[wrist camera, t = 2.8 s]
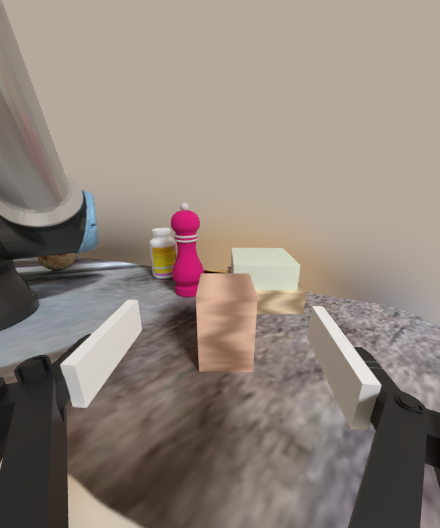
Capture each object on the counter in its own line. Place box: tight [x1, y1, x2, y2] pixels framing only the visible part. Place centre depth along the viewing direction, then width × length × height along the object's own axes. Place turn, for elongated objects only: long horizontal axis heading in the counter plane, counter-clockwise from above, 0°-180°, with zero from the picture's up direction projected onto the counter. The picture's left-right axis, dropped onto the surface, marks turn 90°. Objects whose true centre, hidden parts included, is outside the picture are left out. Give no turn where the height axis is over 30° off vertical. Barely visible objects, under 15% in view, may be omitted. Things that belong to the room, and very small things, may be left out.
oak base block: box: [228, 267, 306, 314], centre depth 46 cm, size 14×14×5 cm
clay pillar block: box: [196, 273, 258, 372], centre depth 29 cm, size 7×7×11 cm
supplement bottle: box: [149, 228, 176, 279], centre depth 57 cm, size 7×7×13 cm
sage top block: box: [231, 248, 300, 290], centre depth 45 cm, size 12×12×5 cm
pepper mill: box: [171, 203, 204, 297], centre depth 47 cm, size 7×7×20 cm
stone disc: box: [38, 253, 76, 270], centre depth 63 cm, size 10×4×10 cm, turn 167°
